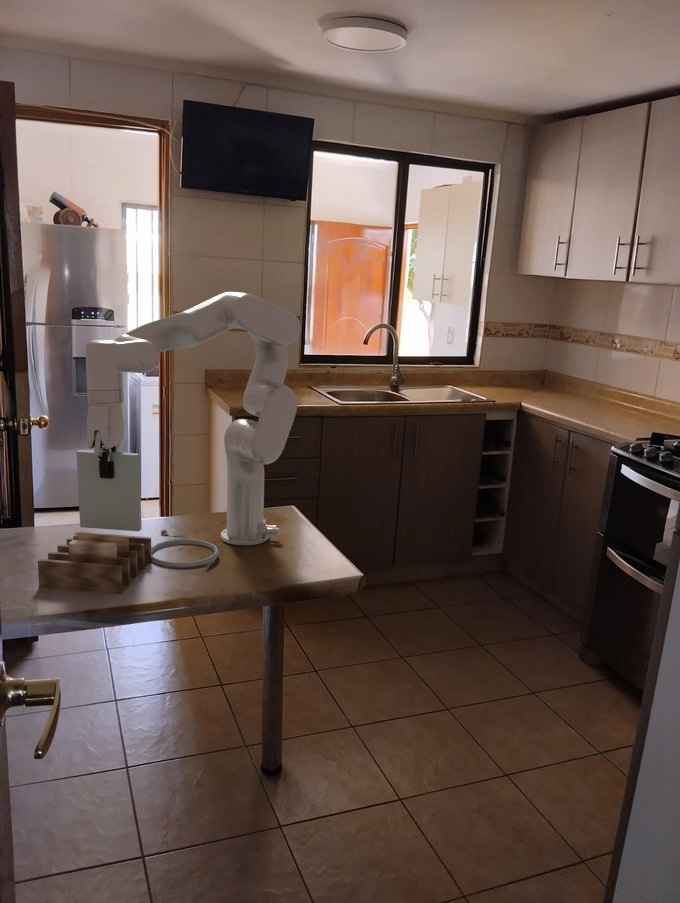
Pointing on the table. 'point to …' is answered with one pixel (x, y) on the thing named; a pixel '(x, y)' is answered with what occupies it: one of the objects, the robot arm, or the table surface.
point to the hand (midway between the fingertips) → (109, 476)
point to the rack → (95, 567)
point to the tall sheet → (109, 492)
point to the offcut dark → (104, 539)
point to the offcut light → (93, 548)
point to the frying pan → (184, 541)
